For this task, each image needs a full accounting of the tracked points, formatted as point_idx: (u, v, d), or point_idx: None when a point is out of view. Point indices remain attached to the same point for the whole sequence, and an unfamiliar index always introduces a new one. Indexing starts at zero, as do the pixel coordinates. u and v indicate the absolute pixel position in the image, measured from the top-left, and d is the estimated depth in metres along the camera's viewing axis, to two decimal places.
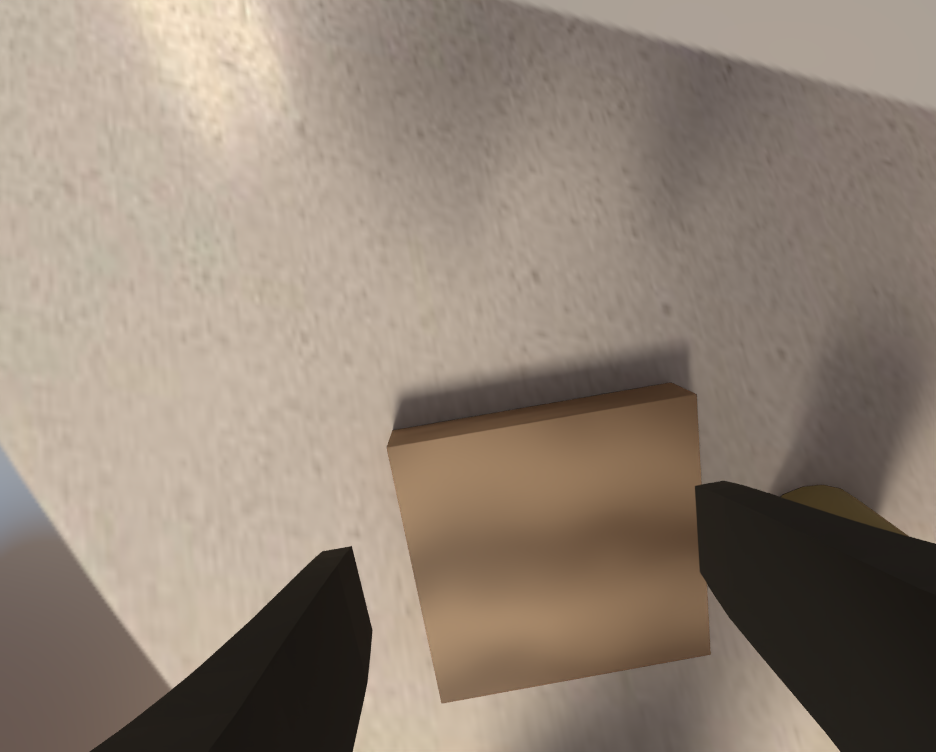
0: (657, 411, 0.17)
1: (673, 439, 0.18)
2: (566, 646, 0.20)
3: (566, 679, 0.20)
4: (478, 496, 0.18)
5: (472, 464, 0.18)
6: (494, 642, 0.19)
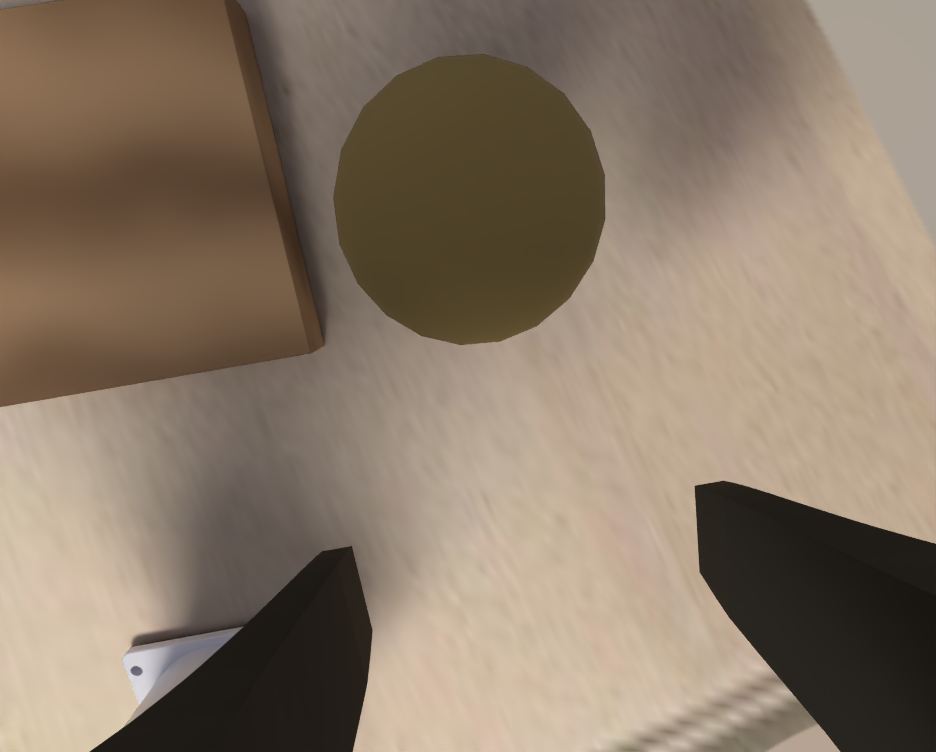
0: None
1: (201, 41, 0.14)
2: (124, 336, 0.16)
3: (134, 382, 0.17)
4: None
5: None
6: (30, 326, 0.16)
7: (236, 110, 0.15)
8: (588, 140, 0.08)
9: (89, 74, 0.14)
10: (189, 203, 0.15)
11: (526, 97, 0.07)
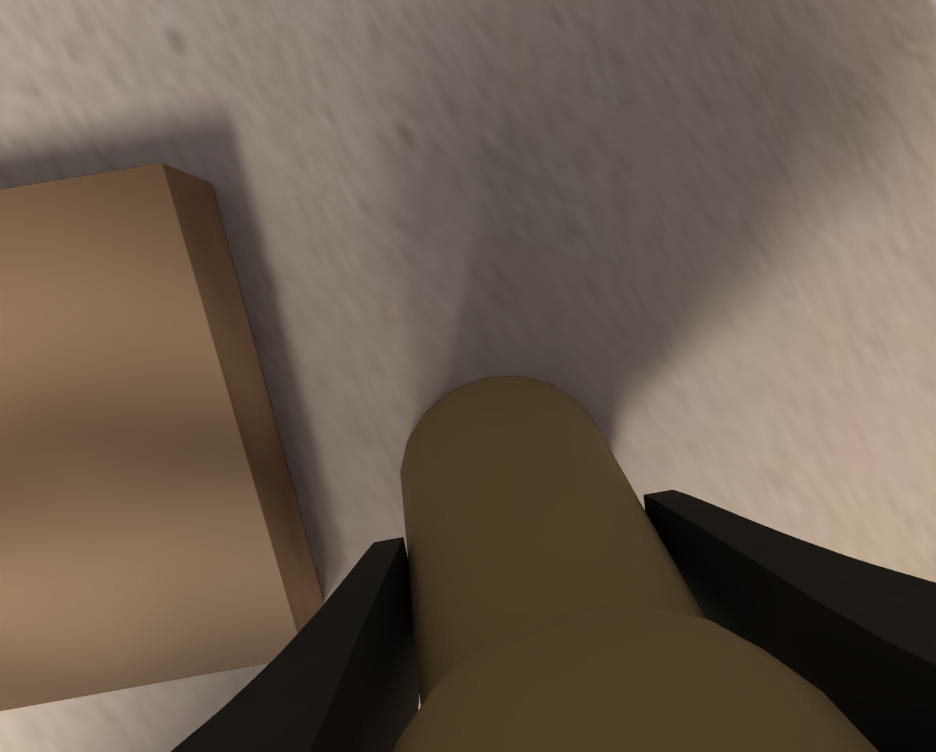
0: (92, 197, 0.09)
1: (138, 255, 0.10)
2: (38, 643, 0.11)
3: (55, 699, 0.12)
4: None
5: None
6: None
7: (194, 349, 0.10)
8: None
9: None
10: (127, 473, 0.10)
11: None
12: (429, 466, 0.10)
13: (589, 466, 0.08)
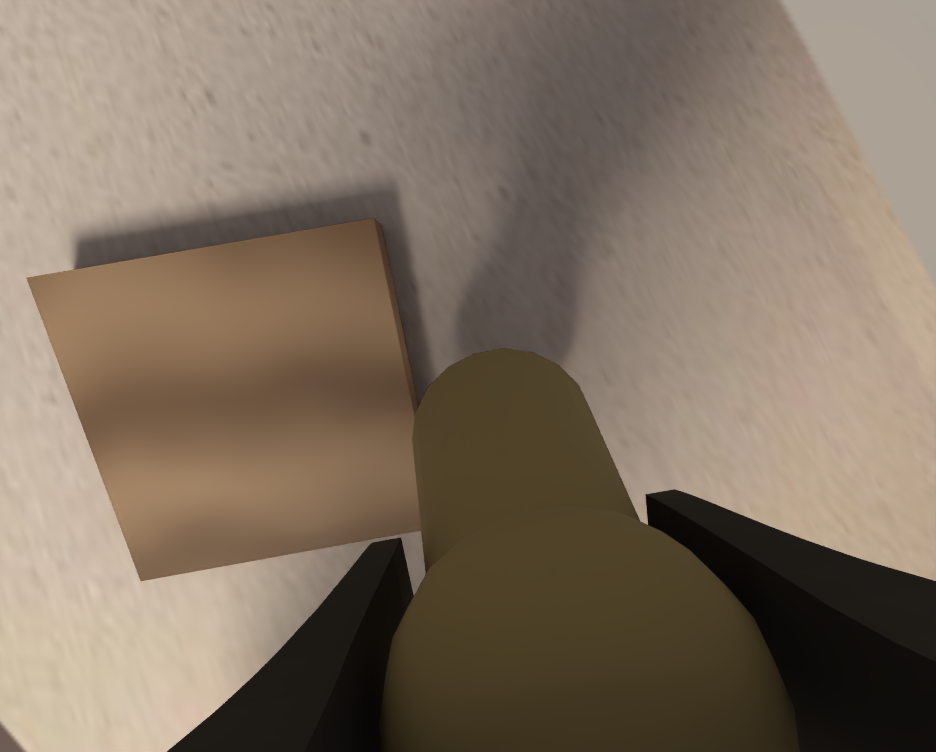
0: (332, 238, 0.16)
1: (355, 271, 0.16)
2: (272, 516, 0.18)
3: (278, 554, 0.18)
4: (142, 337, 0.16)
5: (128, 298, 0.16)
6: (188, 510, 0.18)
7: (383, 327, 0.16)
8: (784, 716, 0.05)
9: (255, 301, 0.16)
10: (336, 405, 0.17)
11: (695, 716, 0.04)
12: (431, 429, 0.12)
13: (557, 418, 0.10)
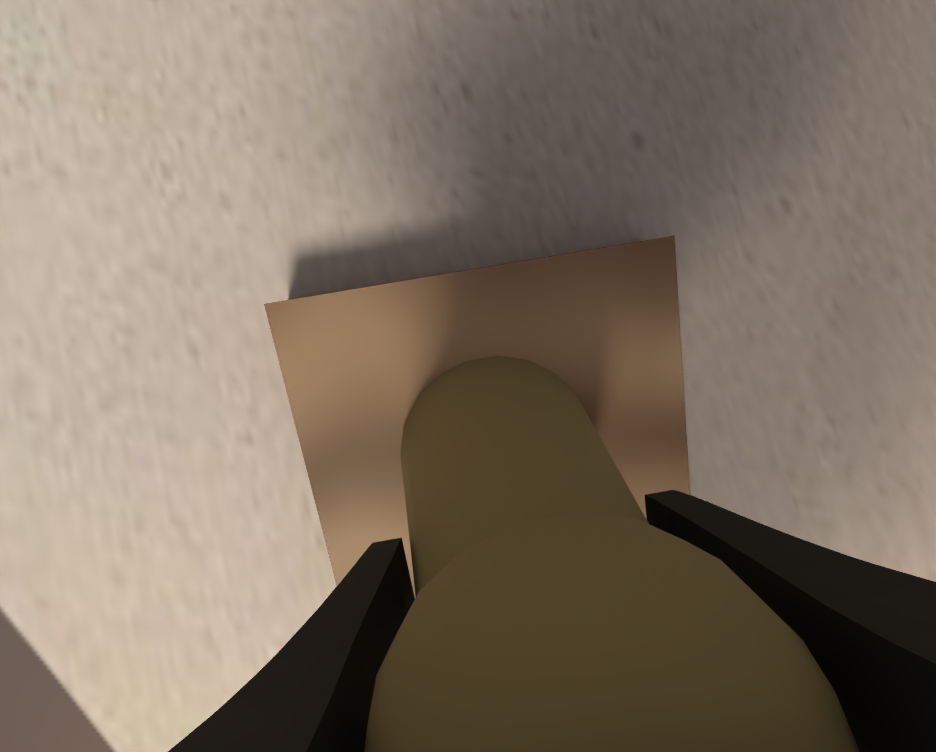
0: (623, 259, 0.13)
1: (645, 298, 0.14)
2: None
3: None
4: (389, 374, 0.14)
5: (379, 329, 0.13)
6: None
7: (667, 364, 0.14)
8: None
9: (525, 333, 0.14)
10: None
11: None
12: (420, 440, 0.11)
13: (557, 422, 0.09)
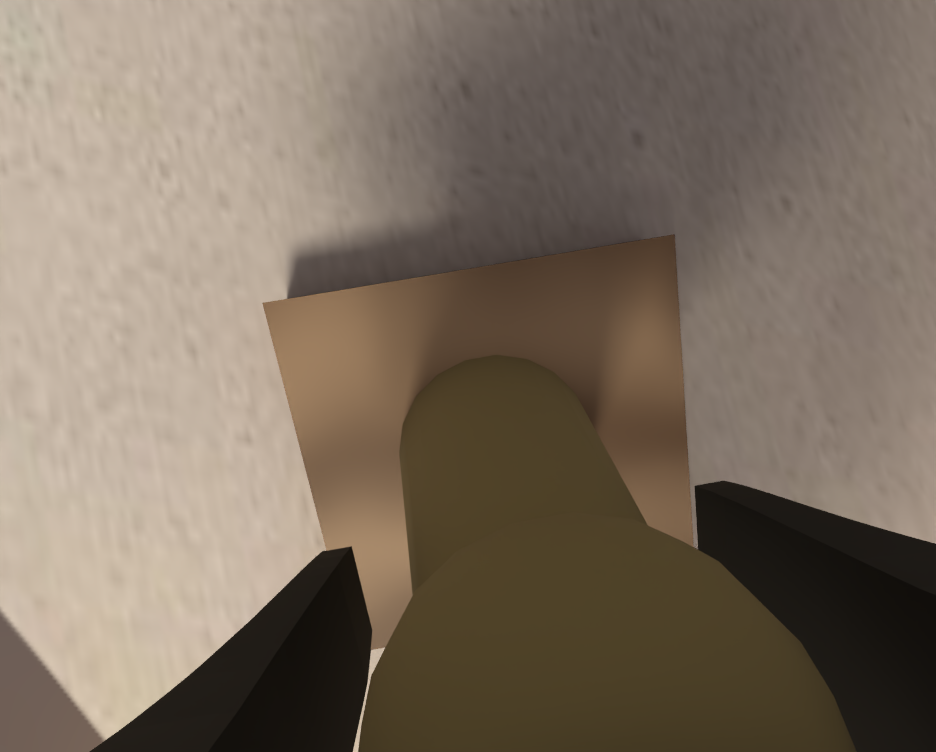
0: (623, 258, 0.13)
1: (645, 297, 0.13)
2: None
3: None
4: (388, 374, 0.14)
5: (378, 328, 0.13)
6: None
7: (668, 363, 0.14)
8: None
9: (525, 332, 0.14)
10: None
11: None
12: (419, 439, 0.11)
13: (556, 422, 0.09)
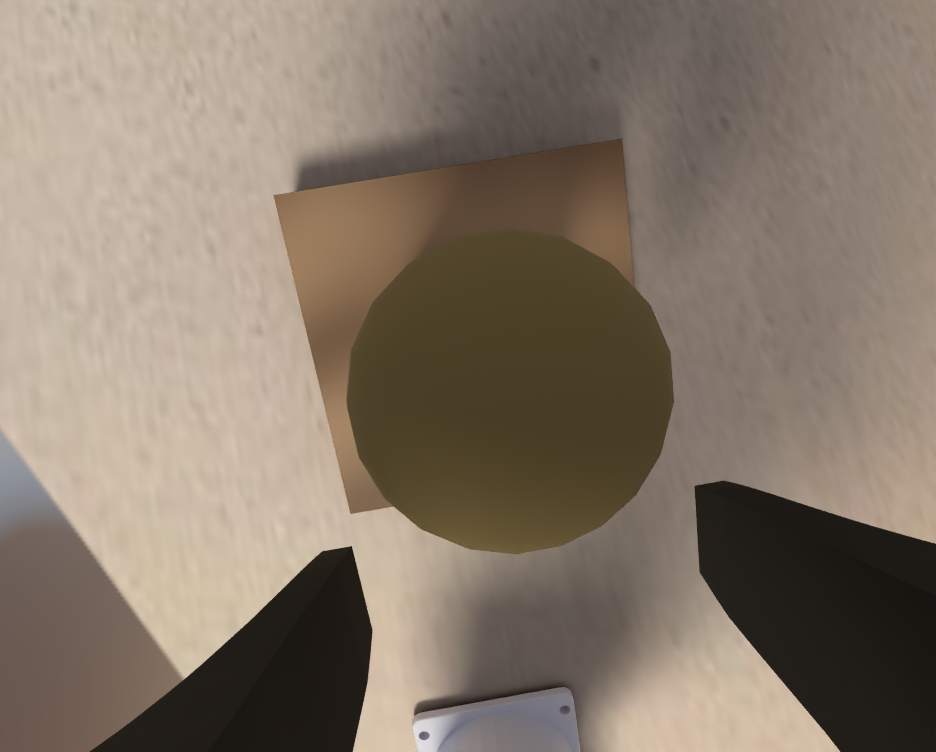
0: (578, 159, 0.16)
1: (598, 194, 0.16)
2: None
3: None
4: (380, 260, 0.16)
5: (371, 219, 0.16)
6: None
7: (618, 253, 0.16)
8: (652, 328, 0.06)
9: (496, 224, 0.16)
10: None
11: (577, 298, 0.06)
12: None
13: None
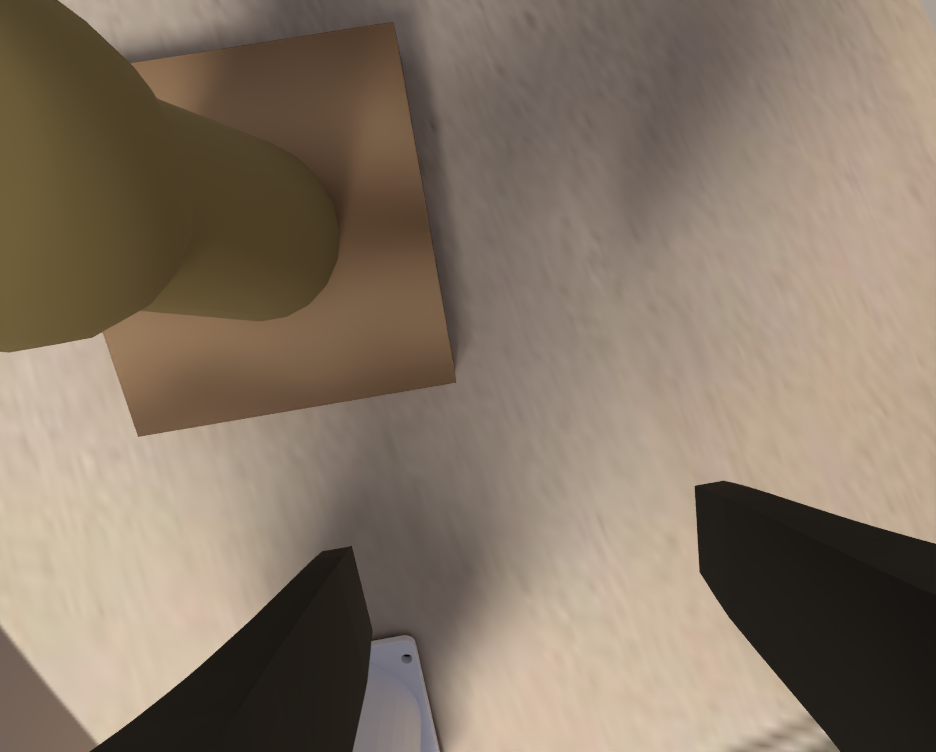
0: (348, 44, 0.15)
1: (373, 84, 0.15)
2: (279, 365, 0.17)
3: (286, 410, 0.17)
4: None
5: None
6: (190, 356, 0.16)
7: (402, 150, 0.15)
8: (28, 39, 0.05)
9: (264, 116, 0.15)
10: (351, 239, 0.16)
11: None
12: None
13: None
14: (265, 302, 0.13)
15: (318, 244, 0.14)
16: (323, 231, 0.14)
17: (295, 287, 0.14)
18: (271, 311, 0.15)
